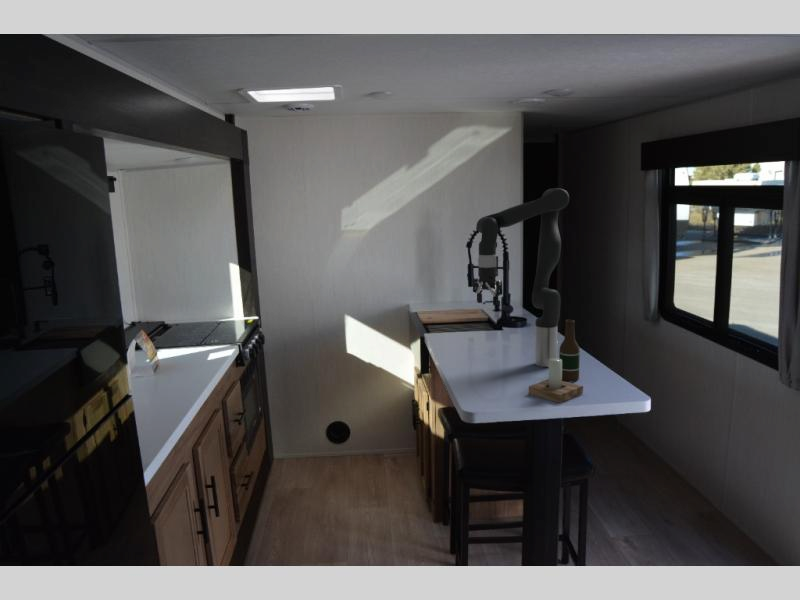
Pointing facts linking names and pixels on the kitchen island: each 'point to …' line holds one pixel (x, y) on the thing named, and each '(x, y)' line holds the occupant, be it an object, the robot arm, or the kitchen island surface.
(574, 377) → the beer bottle
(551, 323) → the robot arm
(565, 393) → the walnut block
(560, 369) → the pale green cylinder
